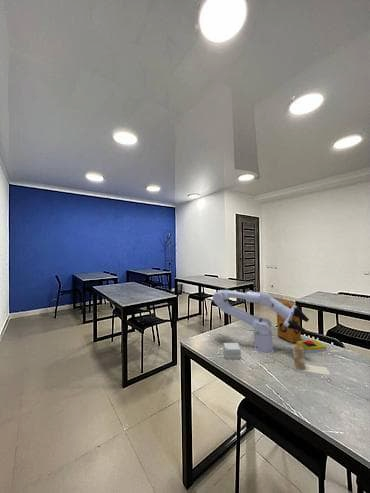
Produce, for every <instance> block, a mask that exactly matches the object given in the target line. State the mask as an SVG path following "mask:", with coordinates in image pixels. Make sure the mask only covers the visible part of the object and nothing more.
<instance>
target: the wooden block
mask: <svg viewBox="0 0 370 493" xmlns="http://www.w3.org/2000/svg"><path fill="white" fill-rule="evenodd" d="M292 352H293V353H292V355H293V361H294V362H293V364H294V368H295V369H297V370H302V371H303V370H305V364H306V363H305V352H304V351H303V347H302V345H297V344H292Z"/></svg>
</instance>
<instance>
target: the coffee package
mask: <svg viewBox="0 0 370 493" xmlns="http://www.w3.org/2000/svg"><path fill="white" fill-rule="evenodd" d="M279 302H280V303H282V304H283V305H285V306H287V307H288V308H290V309H291V307H292V306H293V305H295V304H294V303H291V302H288V301H286V300H285V301H284V300H279ZM295 306H296V305H295ZM289 320H290V319H289ZM293 320H295V322H296V323H297V324H298V325H300V326H301V322H300V320H301V319H300V318H298V317H296V316H292V318H291V321H293ZM284 322H285V318H283V317H282V316H280V315H279V314H278V313H276V323H277V324H276V326H277V327H276V328H277V331H276V332H277V336H278V337H279V338H280V337H281V338H282V339H284V340H285V341H288V342H290V343H291V344H297V341H302V334H301V333H302V332H300V331H298V330H295V329H290V328H287V327H286V326H284V325H283V324H284Z"/></svg>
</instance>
